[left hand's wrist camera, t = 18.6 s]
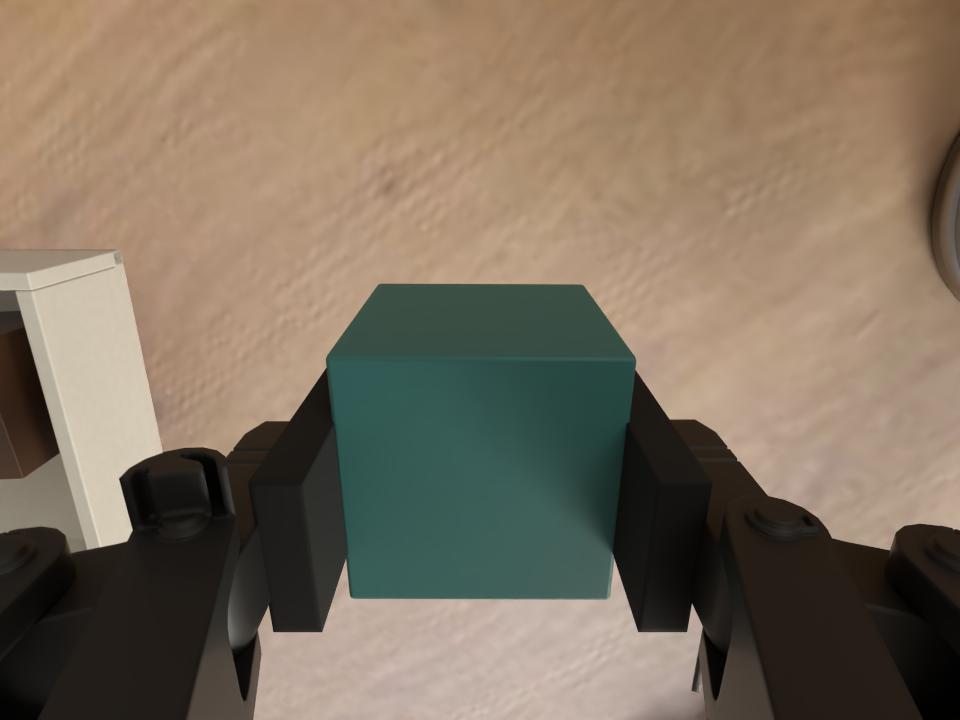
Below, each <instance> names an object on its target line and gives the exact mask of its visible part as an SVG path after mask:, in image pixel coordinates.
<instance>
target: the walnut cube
mask: <svg viewBox="0 0 960 720" xmlns="http://www.w3.org/2000/svg"><path fill="white" fill-rule="evenodd" d="M59 453H60V451H59V448H58V444H57V440H56V437H55V433H54V430H53V426H52V422H51V419H50V415H49V412H48V408H47V404H46V401H45V397H44V394H43V390H42V387H41V383H40V379H39V376H38V372H37V369H36V365H35V361H34V358H33V354H32V351H31V347H30V343H29V340H28V336H27V333H26V329H25V326H24V322H23V318H22V315H21V311H2V312H0V480H1V479H22V478H25V477H26V476H28V475H29V474H30V473H32V472H33V471H35V470H36V469H38V468H39V467H41V466H42V465H43V464H45V463H46V462H48V461H49V460H51V459H52V458H54V457H55V456H56V455H58V454H59Z"/></svg>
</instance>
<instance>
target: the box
mask: <svg viewBox="0 0 960 720" xmlns="http://www.w3.org/2000/svg"><path fill="white" fill-rule="evenodd" d="M2 311H21V315H22V318H23V322H24V326H25V329H26V333H27V336H28V340H29V343H30V347H31V351H32V354H33V358H34V361H35V365H36V369H37V372H38V376H39V379H40V383H41V387H42V390H43V394H44V397H45V401H46V404H47V408H48V412H49V415H50V419H51V422H52V426H53V430H54V433H55V437H56V440H57V444H58V448H59V451H60V453H59V454H58V455H56V456H55V457H54V458H52V459H51V460H49V461H48V462H46V463H45V464H43V465H42V466H41V467H39V468H38V469H36V470H35V471H33V472H32V473H30V474H29V475H28V476H26V477H25V478H22V479H1V480H0V534H1V533H4V532H6V533H7V532H9V531H11V530H15V529H21V528H22V529H23V528H31V527H40V526H42V527H49V528H57V529H58V530H59V531H61V532H62V533H63V534H65V535H66V538H67V541H68V544H69V547H70V551H71V553H74V552H79V551H84V550H89V549H94V548H99V547H104V546H109V545H114V544H119V543H122V542H126V541H128V539H129V537H130V535H131V533H132V531H133V530H132V526H131V522H130V519H129V515H128V511H127V507H126V504H125V500H124V496H123V493H122V489H121V485H120V481H119V478H120V477H121V476H122V475H123V474H124V473H125V472H126V471H127V470H128V469H129V468H130V467H132V466H134V465H136V464H137V463H139V462H141V461H142V460H144V459H146V458H149V457H152V456H155V455H157V454H160V453H163V451H162V446H161V441H160V436H159V432H158V427H157V422H156V417H155V413H154V408H153V403H152V398H151V393H150V389H149V384H148V379H147V374H146V370H145V365H144V360H143V355H142V351H141V346H140V341H139V336H138V331H137V327H136V322H135V317H134V312H133V308H132V303H131V298H130V293H129V289H128V284H127V279H126V274H125V270H124V265H123V260H122V255H121V251H120V250H95V249H0V312H2Z"/></svg>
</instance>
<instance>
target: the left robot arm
mask: <svg viewBox="0 0 960 720" xmlns="http://www.w3.org/2000/svg"><path fill="white" fill-rule="evenodd" d="M932 242H933V249H934V255H935V258H936V262H937V266H938V268H939V271H940V273H941V276H942V278H943V279H944V281H945V283H946V285H947V287H948V288H949V289H950V291H951V292H952V293H953V295H954V296H955V297H956V298H957V299H958V300H959V301H960V135H959V137H958V139H957V141H956V143H955V145H954V146H953V148H952V150H951V152H950V155H949V157H948V159H947V161H946V163H945V166H944V169H943V172H942V174H941V177H940V180H939V184H938V187H937V191H936V195H935V200H934V206H933V214H932ZM119 481H120V485H121V489H122V493H123V496H124V500H125V504H126V507H127V511H128V515H129V519H130V522H131V526H132V530H133V531H132V533H131V535H130V537H129V539H128V541H126V542H122V543H119V544H114V545H109V546H104V547H99V548H94V549H89V550H84V551H79V552H74V553H71V551H70V547H69V544H68V541H67V538H66V535H65V534H63V533H62V532H61V531H59V530H58V529H57V528H49V527H42V526H40V527H31V528H23V529H22V528H21V529H15V530H11V531H9V532H7V533H6V532H4V533H1V534H0V720H253V716H254V708H255V701H256V693H257V685H258V677H259V669H260V661H261V647H260V640H259V635H258V627H259V625H260V623H261V621H262V619H263V616H264V614H265V612H266V610H267V608H268V605H269V609H270V615H271V620H272V626H273V632H322V631H323V628H324V625H325V621H326V618H327V615H328V612H329V609H330V606H331V603H332V600H333V597H334V594H335V591H336V587H337V584H338V581H339V578H340V575H341V572H342V569H343V566H344V563H345V560H346V557H347V554H348V553H347V544H346V534H345V525H344V515H343V505H342V496H341V486H340V477H339V467H338V458H337V448H336V439H335V429H334V423H333V421H332V414H331V404H330V394H329V385H328V375H327V368H326V369H325V371H324V372H323V374H322V375H321V377H320V378H319V380H318V381H317V382H316V384H315V385H314V387H313V388H312V390H311V391H310V393H309V394H308V396H307V397H306V398H305V400H304V401H303V403H302V404H301V406H300V407H299V409H298V410H297V412H296V413H295V414H294V416H293V417H292V419H291V420H290V421H266V422H264V423H262V424H261V425H259V426H257V427H256V428H254V429H253V430H251V431H249V432H248V433H246V434H245V435H244V436H243V437H242V439H241V440H240V441H239V442H238V444H237V445H236V446H235V447H234V450H233V451H231V452H230V453H229V455H228V456H227V457H226V458H225V456H224V455H222V454H221V453H220V452H218V451H217V450H213V449H208V448H203V447H202V448H182V449H177V450H172V451H167V452H163V453H160V454H157V455H155V456H152V457H149V458H146V459H144V460H142V461H141V462H139V463H137V464H136V465H134V466H132V467H130V468H129V469H128V470H127V471H126V472H125V473H124V474H123V475H122V476H121V477H120V478H119ZM613 555H614V558H615V561H616V565H617V568H618V571H619V574H620V577H621V580H622V583H623V586H624V589H625V592H626V595H627V599H628V602H629V605H630V608H631V611H632V614H633V617H634V620H635V623H636V626H637V629H638V632H687V629H688V623H689V617H690V611H691V606H692V604H693V606H694V608H695V610H696V612H697V615H698V617H699V619H700V621H701V623H702V625H703V629H702V635H701V640H700V646H699V651H698V656H697V662H696V667H695V672H694V678H693V685H692V691H695V692H700V687H701V682H702V684H703V691H704V699H705V707H706V715H707V720H960V530H957V529H955V530H953V528H949V527H944V526H935V525H926V524H915V525H908V526H904V527H902V528H901V529H900V530H899V531H897V532H896V534H895V537H894V540H893V543H892V546H891V549H890V550H885V549H880V548H875V547H869V546H864V545H859V544H854V543H849V542H844V541H840V540H836V539H833V538H831V536H830V534H829V532H828V530H827V528H826V527H825V526H824V525H823V524H822V522H821V521H820V520H819V519H818V518H817V517H816V516H814V515H813V514H811V513H810V512H808V511H807V510H805V509H804V508H802V507H800V506H798V505H795V504H793V503H791V502H788V501H786V500H783V499H778V498H774V497H770V496H767V494H766V493H765V492H764V491H763V489H762V488H761V487H760V486H759V485H758V483H757V482H756V481H755V480H754V478H753V477H752V476H751V475H750V474H749V472H748V471H747V470H746V469H745V467H744V466H743V465H742V464H741V463H740V462H737V458H736V456H735V455H734V454H733V453H732V452H731V450H730V449H727V445H726V444H725V443H724V442H723V441H722V439H721V438H720V437H719V436H718V434H717V433H716V432H715V431H713V430H711V429H710V428H708V427H706V426H705V425H703V424H701V423H700V422H698V421H696V420H669V418H668V417H667V415H666V414H665V412H664V411H663V409H662V408H661V406H660V405H659V404H658V402H657V401H656V399H655V398H654V396H653V395H652V393H651V392H650V390H649V389H648V388H647V386H646V385H645V383H644V382H643V380H642V379H641V377H640V376H639V374H638V373H637V372H636V370H635V376H634V385H633V394H632V403H631V412H630V421H629V423H627V426H626V436H625V445H624V454H623V464H622V473H621V483H620V492H619V501H618V511H617V520H616V530H615V539H614V548H613Z"/></svg>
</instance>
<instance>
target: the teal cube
mask: <svg viewBox="0 0 960 720" xmlns="http://www.w3.org/2000/svg"><path fill="white" fill-rule="evenodd" d="M326 365H327V375H328V385H329V394H330V404H331V414H332V421H333V423H334V429H335V439H336V448H337V458H338V467H339V477H340V486H341V496H342V505H343V515H344V525H345V534H346V544H347V553H348V554H347V557H346V561H347V571H348V581H349V591H350V596H351V598H354V599H587V600H606V599H608V598H609V597H610V591H611V582H612V573H613V564H614V555H613V548H614V539H615V530H616V520H617V511H618V501H619V492H620V483H621V473H622V464H623V454H624V445H625V436H626V426H627V423H629V421H630V412H631V403H632V394H633V385H634V376H635V367H636V358H635V356H634V355H633V353H632V352H631V351H630V349H629V348H628V347H627V345H626V344H625V342H624V341H623V340H622V338H621V337H620V335H619V334H618V333H617V331H616V330H615V329H614V327H613V326H612V324H611V323H610V322H609V320H608V319H607V317H606V316H605V315H604V313H603V312H602V310H601V309H600V308H599V306H598V305H597V304H596V302H595V301H594V299H593V298H592V297H591V295H590V294H589V292H588V291H587V290H586V288H585V287H584V286H583V285H546V284H379V285H378V286H377V287H376V289H375V290H374V291H373V293H372V294H371V296H370V297H369V298H368V300H367V301H366V303H365V304H364V305H363V307H362V308H361V310H360V311H359V312H358V314H357V315H356V316H355V318H354V319H353V321H352V322H351V323H350V325H349V326H348V328H347V329H346V330H345V332H344V333H343V335H342V336H341V337H340V339H339V340H338V341H337V343H336V344H335V346H334V347H333V348H332V350H331V351H330V353H329V354H328V355H327V358H326Z"/></svg>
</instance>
